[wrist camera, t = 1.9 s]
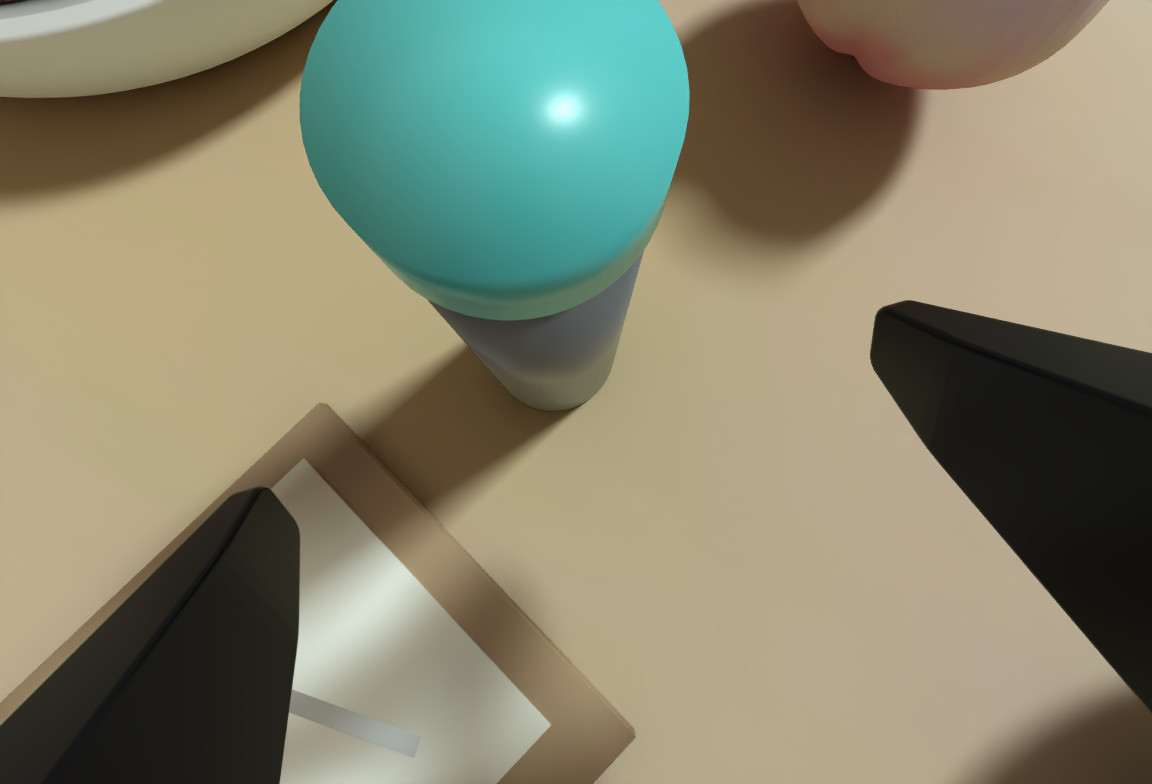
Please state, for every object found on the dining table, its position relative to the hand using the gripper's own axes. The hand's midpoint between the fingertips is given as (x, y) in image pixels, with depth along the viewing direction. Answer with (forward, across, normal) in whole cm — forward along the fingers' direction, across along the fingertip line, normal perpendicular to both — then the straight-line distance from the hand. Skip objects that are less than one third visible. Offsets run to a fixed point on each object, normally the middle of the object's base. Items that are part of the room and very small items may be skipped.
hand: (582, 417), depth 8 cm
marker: (+10, 0, +5) cm, 11 cm away
